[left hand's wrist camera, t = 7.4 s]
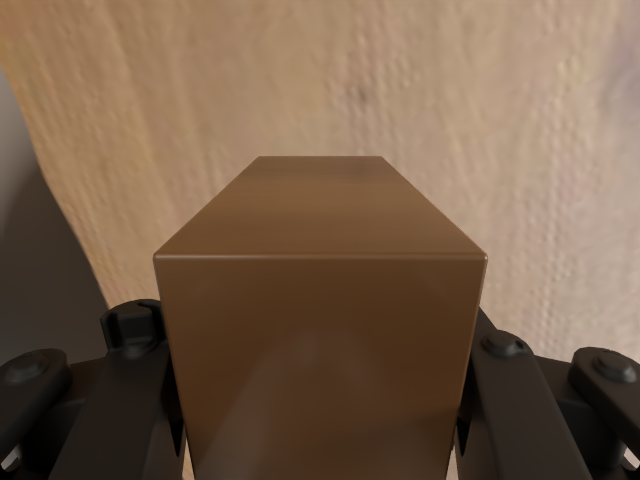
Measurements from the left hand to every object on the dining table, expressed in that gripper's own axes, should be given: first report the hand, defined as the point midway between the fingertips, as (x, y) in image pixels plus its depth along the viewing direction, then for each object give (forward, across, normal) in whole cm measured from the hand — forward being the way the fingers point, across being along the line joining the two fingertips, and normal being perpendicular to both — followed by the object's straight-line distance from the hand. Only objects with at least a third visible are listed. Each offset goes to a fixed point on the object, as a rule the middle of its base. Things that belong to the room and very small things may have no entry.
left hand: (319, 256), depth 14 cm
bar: (+1, 0, -8) cm, 8 cm away
